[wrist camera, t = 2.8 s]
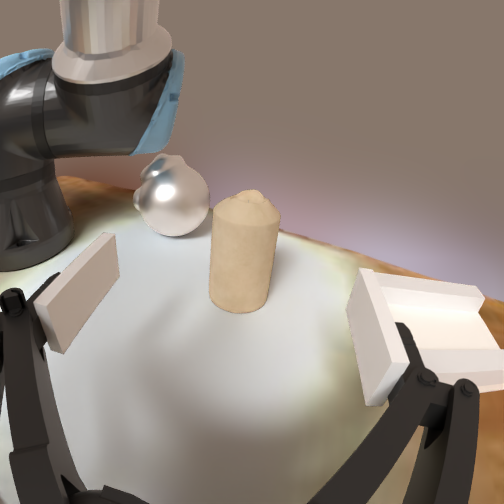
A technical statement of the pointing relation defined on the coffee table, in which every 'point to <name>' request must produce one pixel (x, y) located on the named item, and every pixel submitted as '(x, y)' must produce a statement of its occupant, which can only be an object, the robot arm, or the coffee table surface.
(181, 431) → the coffee table surface
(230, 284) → the candle
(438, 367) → the tray
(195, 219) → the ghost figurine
